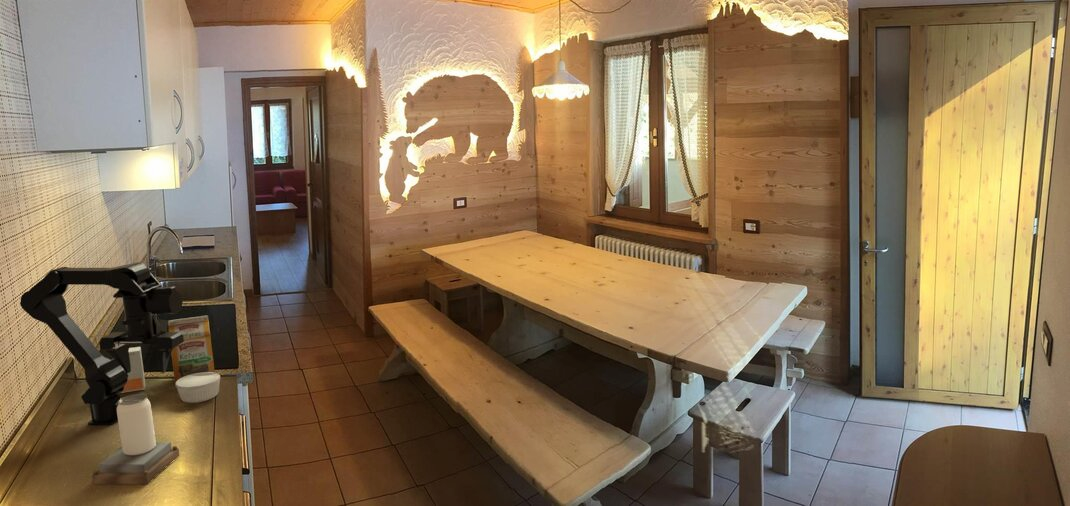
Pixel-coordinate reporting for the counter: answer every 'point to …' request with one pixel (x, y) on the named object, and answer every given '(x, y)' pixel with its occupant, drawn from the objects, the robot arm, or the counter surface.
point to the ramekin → (198, 387)
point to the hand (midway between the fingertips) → (146, 372)
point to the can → (136, 425)
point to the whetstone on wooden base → (135, 465)
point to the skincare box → (135, 371)
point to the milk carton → (192, 347)
